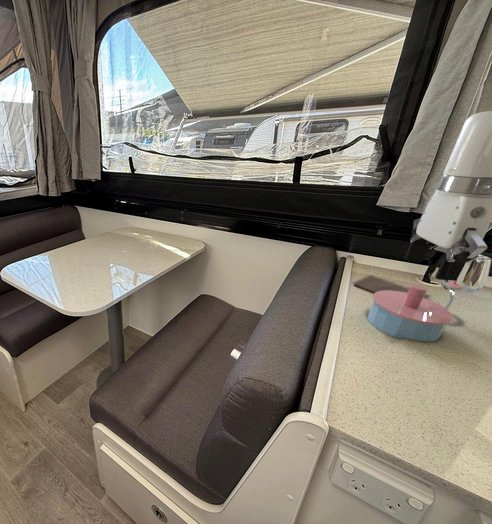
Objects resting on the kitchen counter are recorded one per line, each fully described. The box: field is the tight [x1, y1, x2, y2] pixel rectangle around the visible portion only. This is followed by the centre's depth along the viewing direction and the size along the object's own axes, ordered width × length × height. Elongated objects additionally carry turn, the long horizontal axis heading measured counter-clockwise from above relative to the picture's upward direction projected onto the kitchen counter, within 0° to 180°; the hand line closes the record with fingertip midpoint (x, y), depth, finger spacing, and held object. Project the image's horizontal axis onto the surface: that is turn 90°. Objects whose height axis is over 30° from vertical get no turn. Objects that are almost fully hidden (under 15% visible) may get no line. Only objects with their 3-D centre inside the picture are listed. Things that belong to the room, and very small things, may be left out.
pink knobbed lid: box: [372, 283, 454, 325], centre depth 72 cm, size 16×16×7 cm
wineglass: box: [439, 254, 492, 311], centre depth 74 cm, size 8×8×20 cm
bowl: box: [367, 300, 448, 343], centre depth 74 cm, size 15×15×6 cm
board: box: [353, 276, 428, 299], centre depth 92 cm, size 16×12×1 cm
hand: (427, 268), depth 57 cm, fingers open, 9 cm apart
